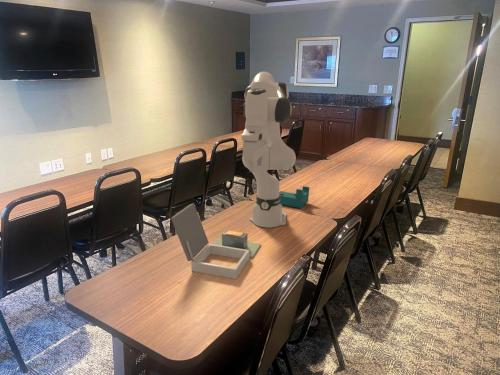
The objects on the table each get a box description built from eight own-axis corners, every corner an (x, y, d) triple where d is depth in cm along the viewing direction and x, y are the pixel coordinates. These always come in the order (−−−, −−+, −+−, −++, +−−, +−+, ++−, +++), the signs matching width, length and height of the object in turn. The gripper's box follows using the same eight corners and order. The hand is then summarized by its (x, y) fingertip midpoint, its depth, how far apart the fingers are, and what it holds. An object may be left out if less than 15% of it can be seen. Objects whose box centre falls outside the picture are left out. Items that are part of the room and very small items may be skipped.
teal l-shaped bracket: (307, 204, 209) (309, 187, 206) (300, 208, 200) (302, 190, 197) (280, 198, 218) (281, 182, 215) (272, 202, 208) (273, 185, 206)
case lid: (208, 242, 149) (205, 243, 149) (193, 203, 145) (190, 203, 146) (191, 260, 134) (187, 261, 135) (174, 217, 131) (170, 218, 131)
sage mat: (218, 239, 162) (218, 237, 162) (260, 245, 156) (260, 243, 156) (207, 250, 151) (207, 249, 151) (252, 258, 145) (252, 256, 145)
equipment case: (204, 251, 151) (203, 224, 147) (249, 258, 145) (249, 231, 141) (186, 270, 136) (185, 241, 132) (235, 279, 130) (235, 249, 127)
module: (226, 242, 157) (226, 229, 155) (247, 246, 154) (247, 232, 152) (222, 246, 153) (221, 233, 151) (243, 250, 150) (243, 237, 148)
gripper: (256, 129, 145) (256, 161, 149) (239, 136, 127) (239, 173, 131) (271, 129, 143) (270, 163, 147) (256, 137, 125) (256, 175, 129)
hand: (256, 168), depth 139 cm, fingers open, 8 cm apart
